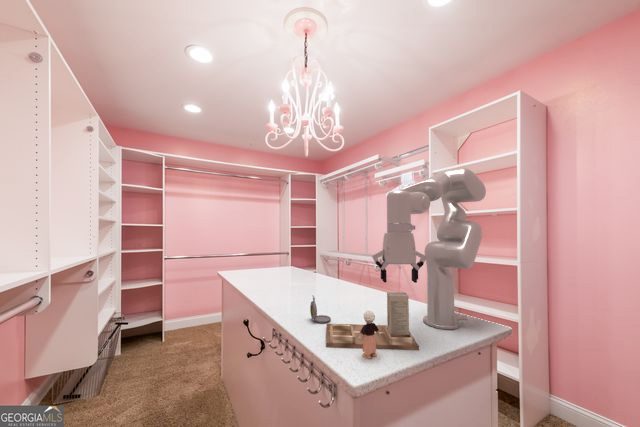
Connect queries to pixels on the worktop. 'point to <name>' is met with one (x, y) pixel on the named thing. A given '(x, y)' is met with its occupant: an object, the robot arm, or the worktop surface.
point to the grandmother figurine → (369, 335)
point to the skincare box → (398, 313)
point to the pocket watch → (314, 313)
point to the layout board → (350, 338)
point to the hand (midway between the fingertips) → (399, 281)
